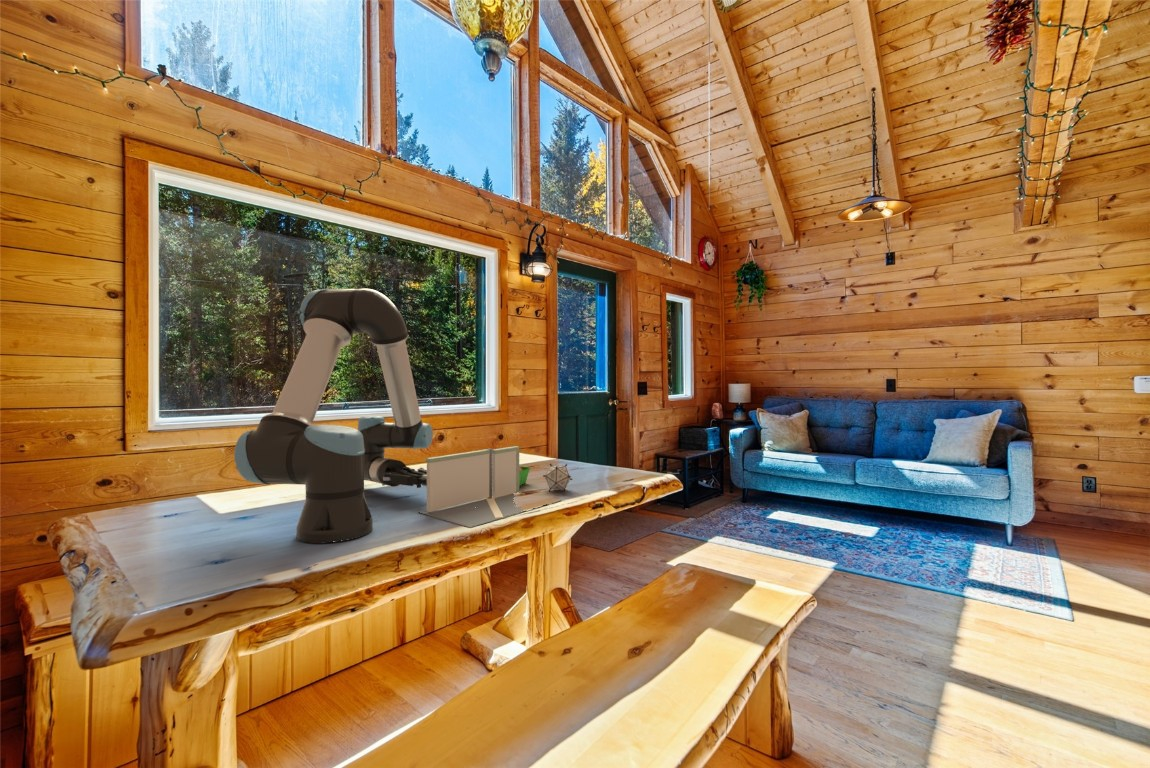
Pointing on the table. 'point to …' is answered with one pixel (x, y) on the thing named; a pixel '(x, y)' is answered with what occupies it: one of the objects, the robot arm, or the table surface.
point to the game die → (557, 477)
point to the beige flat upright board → (458, 479)
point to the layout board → (478, 511)
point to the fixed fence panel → (505, 471)
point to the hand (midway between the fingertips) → (439, 483)
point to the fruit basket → (523, 474)
